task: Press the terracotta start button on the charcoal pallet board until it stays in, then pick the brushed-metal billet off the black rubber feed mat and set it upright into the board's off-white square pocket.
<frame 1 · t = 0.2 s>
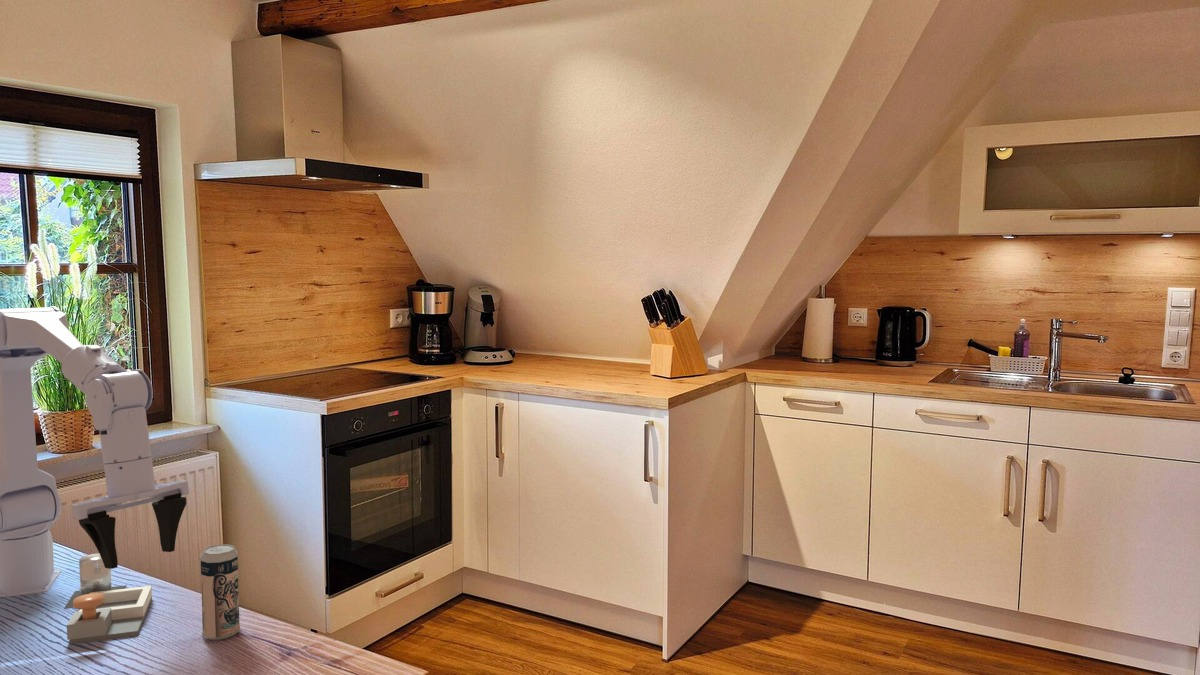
hand: (140, 559, 114), 10 cm above the table, tool pointing down, fingers open, 7 cm apart
beer can: (221, 635, 114), on the table
start button: (89, 609, 113), point 4 cm above the table, slide at 0.0 cm
station: (113, 623, 118), on the table
feed mat: (96, 598, 126), on the table
billet: (96, 596, 126), resting on feed mat
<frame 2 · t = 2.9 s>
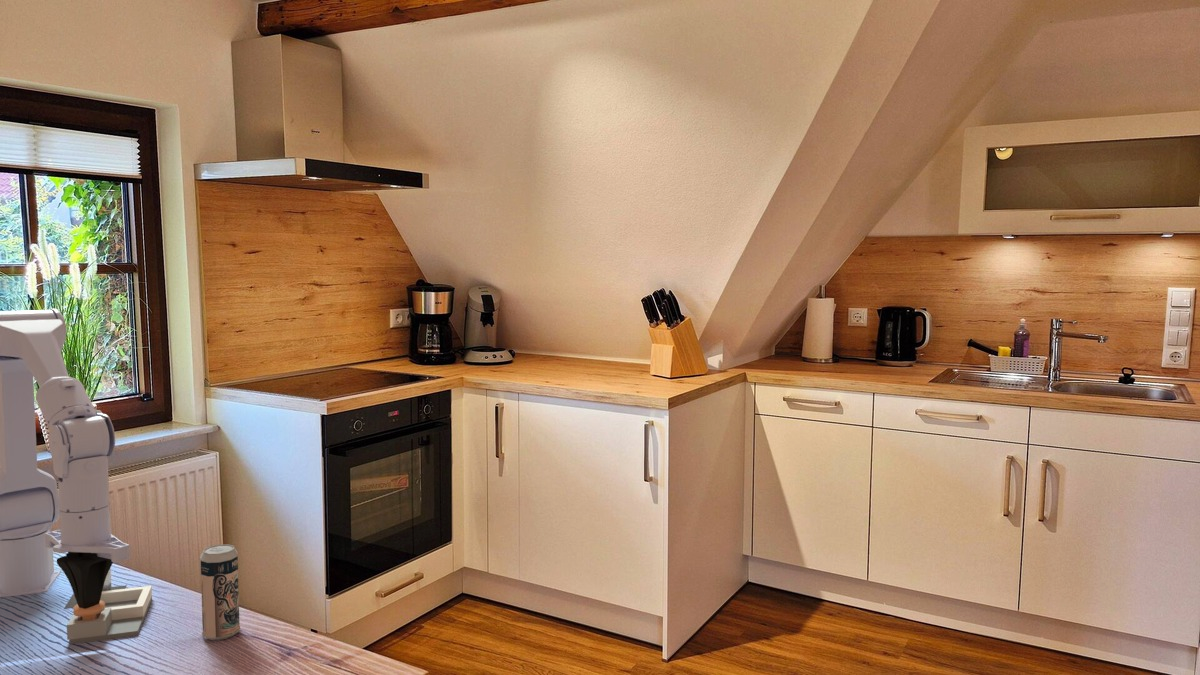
hand: (89, 605, 113), 4 cm above the table, tool pointing down, fingers closed, pressing on start button
start button: (89, 616, 113), point 3 cm above the table, slide at 1.0 cm, touching gripper
everything else where it was.
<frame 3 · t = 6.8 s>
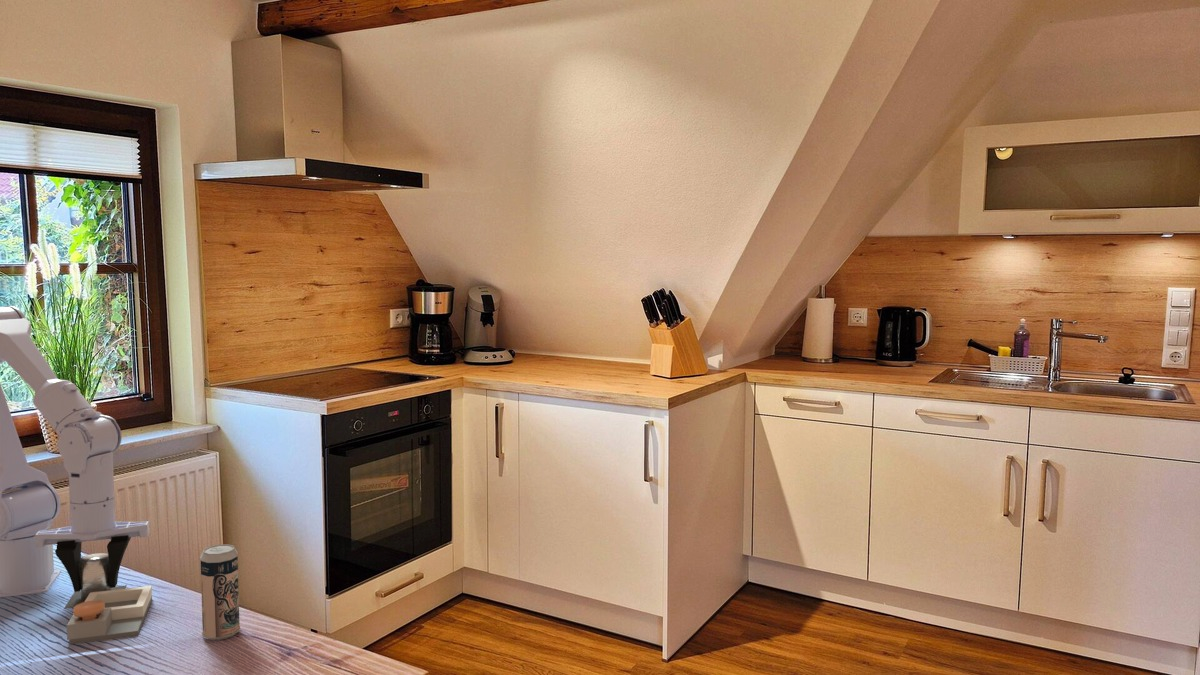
hand: (96, 587, 126), 2 cm above the table, tool pointing down, fingers closed on billet, 4 cm apart
start button: (89, 617, 113), point 3 cm above the table, slide at 1.0 cm
billet: (96, 596, 126), resting on feed mat, touching gripper
everything else where it was.
when the fingers open (3 cm above the table, at t = 11.0 s): billet stays where it is, resting on station.
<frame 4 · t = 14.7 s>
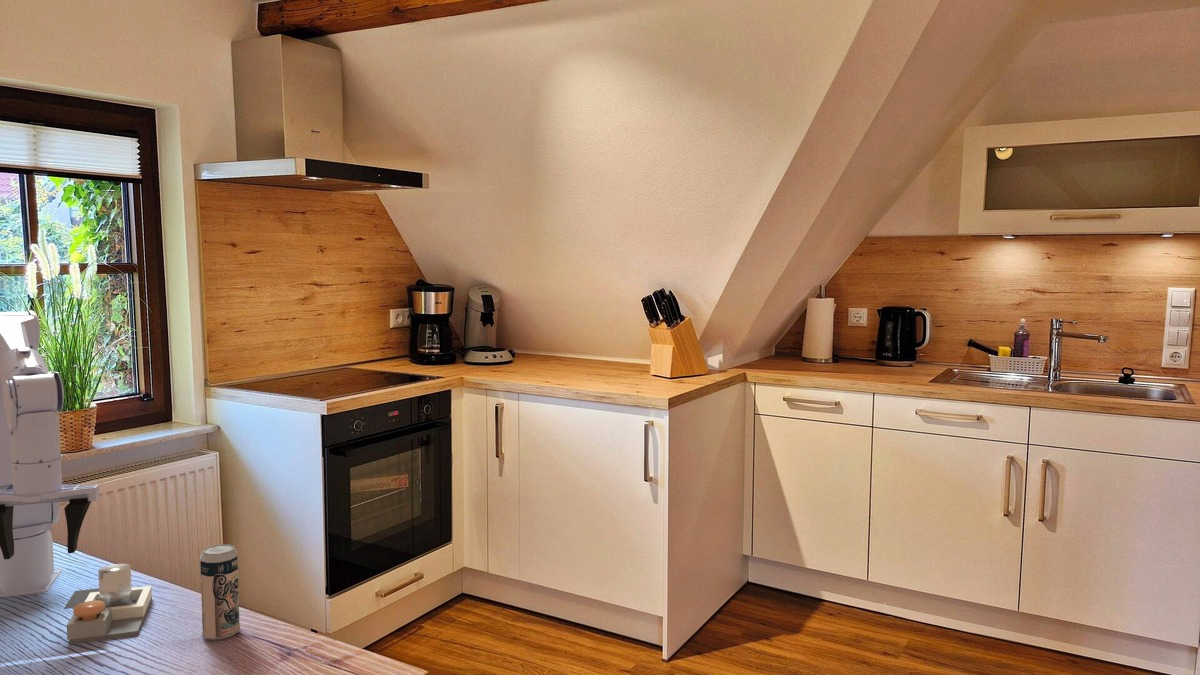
hand: (41, 554, 118), 9 cm above the table, tool pointing down, fingers open, 7 cm apart
billet: (116, 609, 120), point 1 cm above the table, touching station
everything else where it was.
at the end: billet 0.0 cm from the target spot on the station, point 1.0 cm above the station's base; billet tilted 0°; start button slide at 1.0 cm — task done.
